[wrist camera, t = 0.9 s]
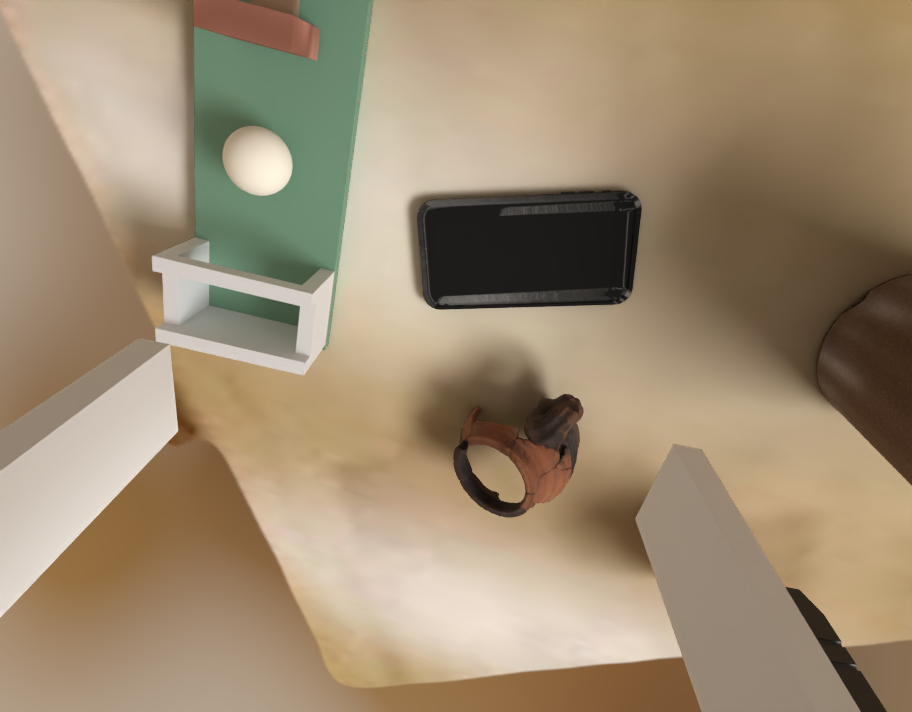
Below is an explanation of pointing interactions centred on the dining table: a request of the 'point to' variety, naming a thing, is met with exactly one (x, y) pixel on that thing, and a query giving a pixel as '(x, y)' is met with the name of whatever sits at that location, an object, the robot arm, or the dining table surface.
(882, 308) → the plant pot
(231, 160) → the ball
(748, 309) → the dining table surface
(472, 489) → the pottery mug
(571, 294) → the phone
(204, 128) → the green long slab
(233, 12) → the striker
